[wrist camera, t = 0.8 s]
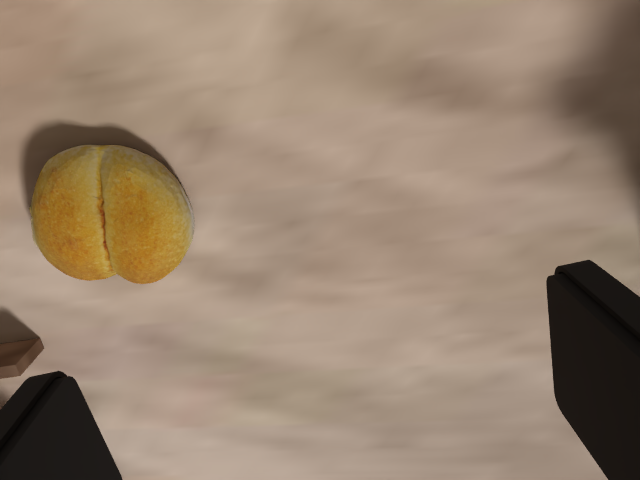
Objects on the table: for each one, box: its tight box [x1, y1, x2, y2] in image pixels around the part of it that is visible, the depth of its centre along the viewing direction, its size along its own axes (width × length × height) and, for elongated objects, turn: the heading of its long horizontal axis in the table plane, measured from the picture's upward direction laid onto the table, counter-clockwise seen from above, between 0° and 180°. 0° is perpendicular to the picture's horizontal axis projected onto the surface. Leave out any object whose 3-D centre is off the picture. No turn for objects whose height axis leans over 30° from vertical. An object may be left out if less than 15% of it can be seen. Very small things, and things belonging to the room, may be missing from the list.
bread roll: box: [29, 145, 194, 284], centre depth 29 cm, size 8×9×4 cm
